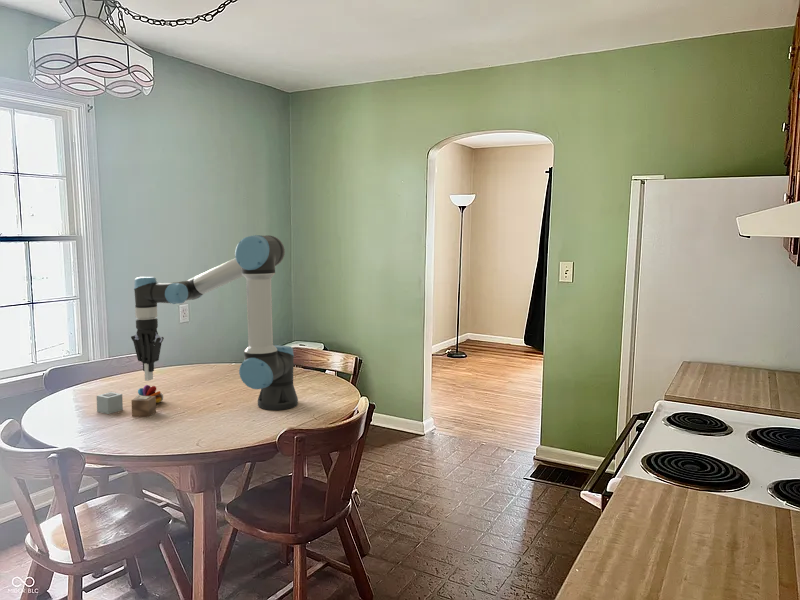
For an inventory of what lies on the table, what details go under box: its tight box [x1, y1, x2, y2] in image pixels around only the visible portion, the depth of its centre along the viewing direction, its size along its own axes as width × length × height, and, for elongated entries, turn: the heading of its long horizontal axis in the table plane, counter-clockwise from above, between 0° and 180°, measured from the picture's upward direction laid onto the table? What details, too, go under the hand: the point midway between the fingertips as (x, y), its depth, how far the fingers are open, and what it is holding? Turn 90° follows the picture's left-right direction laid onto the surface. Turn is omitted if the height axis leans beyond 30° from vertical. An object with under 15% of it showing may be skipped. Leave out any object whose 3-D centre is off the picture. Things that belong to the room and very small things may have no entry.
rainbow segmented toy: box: [134, 384, 164, 404], centre depth 225 cm, size 8×10×7 cm
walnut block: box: [131, 396, 157, 418], centre depth 212 cm, size 6×6×6 cm
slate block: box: [96, 391, 124, 415], centre depth 215 cm, size 6×6×6 cm
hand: (148, 379), depth 224 cm, fingers closed
